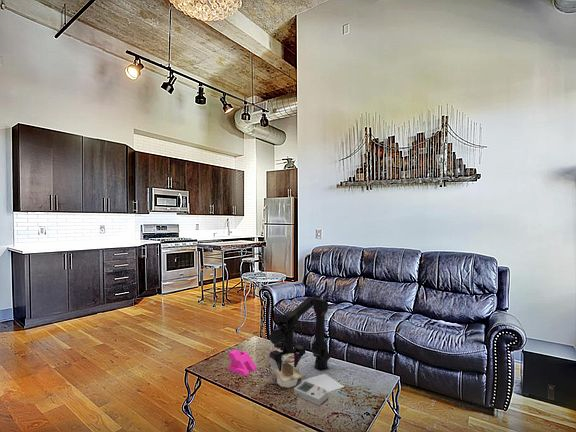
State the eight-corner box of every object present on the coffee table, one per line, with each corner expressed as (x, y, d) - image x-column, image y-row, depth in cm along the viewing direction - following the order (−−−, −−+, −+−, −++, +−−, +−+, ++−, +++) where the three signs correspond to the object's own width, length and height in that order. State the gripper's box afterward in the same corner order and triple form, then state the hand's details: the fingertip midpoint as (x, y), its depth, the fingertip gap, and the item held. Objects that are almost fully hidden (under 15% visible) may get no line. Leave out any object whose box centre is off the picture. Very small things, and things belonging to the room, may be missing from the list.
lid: (291, 367, 177) (291, 358, 177) (303, 376, 167) (303, 367, 167) (271, 372, 171) (272, 363, 171) (283, 382, 161) (283, 372, 161)
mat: (324, 374, 179) (324, 373, 179) (344, 387, 165) (344, 386, 165) (300, 381, 171) (300, 380, 171) (318, 396, 157) (318, 394, 157)
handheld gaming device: (318, 407, 148) (318, 399, 148) (293, 395, 157) (293, 387, 157) (329, 397, 155) (329, 390, 154) (304, 387, 164) (304, 379, 164)
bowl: (290, 376, 176) (290, 368, 176) (300, 385, 167) (300, 376, 167) (274, 381, 170) (274, 372, 171) (283, 390, 162) (284, 381, 162)
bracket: (228, 370, 182) (229, 352, 182) (240, 364, 190) (241, 346, 190) (245, 376, 175) (245, 357, 175) (257, 369, 184) (257, 351, 184)
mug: (277, 375, 178) (277, 353, 178) (262, 368, 186) (263, 347, 186) (287, 370, 183) (287, 349, 183) (272, 363, 191) (272, 343, 191)
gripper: (294, 331, 181) (294, 359, 181) (265, 337, 171) (264, 367, 171) (306, 337, 171) (305, 367, 171) (275, 344, 162) (274, 375, 161)
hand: (287, 369), depth 169 cm, fingers open, 9 cm apart
